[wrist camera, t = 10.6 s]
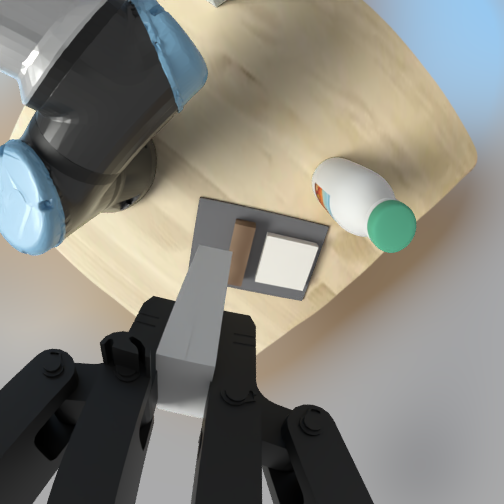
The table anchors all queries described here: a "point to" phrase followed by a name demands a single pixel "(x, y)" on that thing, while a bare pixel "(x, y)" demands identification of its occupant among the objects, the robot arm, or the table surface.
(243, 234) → the block
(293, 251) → the tile
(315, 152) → the table surface
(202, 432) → the robot arm
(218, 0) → the small box
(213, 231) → the mat
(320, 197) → the milk bottle
